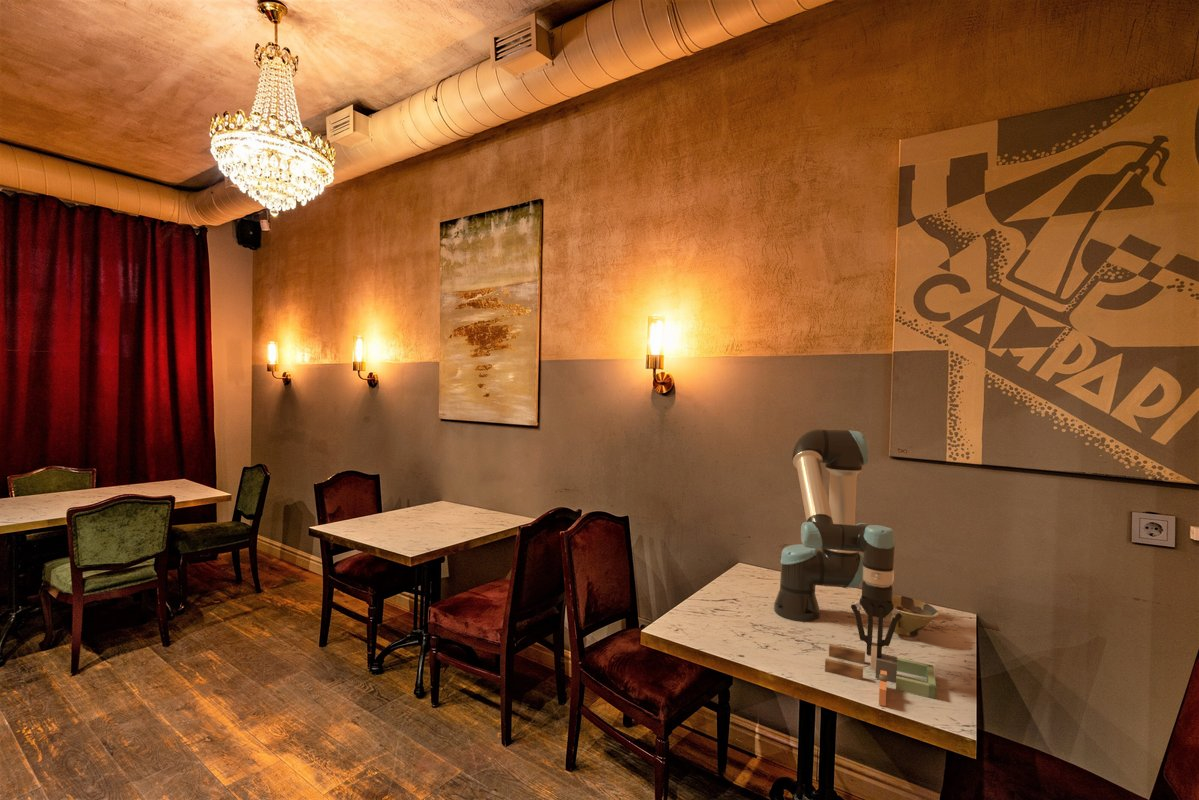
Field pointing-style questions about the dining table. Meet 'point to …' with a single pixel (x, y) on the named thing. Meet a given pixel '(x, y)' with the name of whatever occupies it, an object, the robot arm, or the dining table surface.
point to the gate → (882, 687)
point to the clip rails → (843, 667)
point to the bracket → (914, 685)
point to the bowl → (912, 615)
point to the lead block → (887, 666)
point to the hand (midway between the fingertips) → (873, 667)
